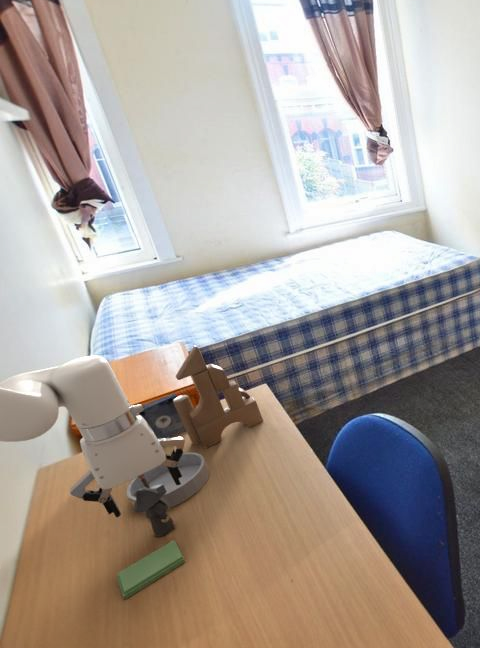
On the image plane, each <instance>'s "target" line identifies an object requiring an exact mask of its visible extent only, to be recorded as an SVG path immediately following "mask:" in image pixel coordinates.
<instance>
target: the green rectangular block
mask: <svg viewBox="0 0 480 648" xmlns="http://www.w3.org/2000/svg"><path fill="white" fill-rule="evenodd" d="M184 563H186V561H185V559H184V556H183V554H182V551H181V550H180V547H179V546H178V543H177V542H176V540H175V539H173V540H171V541H170V542H168V543H166V544H164V545H163V546H161V547H159V548H158V549H156V550H155V551H152V552H151V553H150V554H148V555H146V556H144V557H142V558H141V559H139V560H137V561H136V562H134V563H132V564H131V565H129V566H127V567H125V568H124V569H122V570H120V571H119V572H118V575H116V579H117V582H118V585H119V589H120V592H121V596H122V598H123V599H124V600H127V599H128V598H130V597H131V596H133V595H135V594H136V593H138V592H139V591H141V590H143V589H144V588H146V587H148V586H149V585H151V584H153V583H154V582H156V581H157V580H159V579H160V578H162V577H164V576H166V575H167V574H169V573H170V572H172V571H173V570H175V569H176V568H178V567H180V566H181V565H183V564H184Z"/></svg>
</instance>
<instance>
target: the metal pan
mask: <svg viewBox="0 0 480 648" xmlns="http://www.w3.org/2000/svg"><path fill="white" fill-rule="evenodd" d="M177 467H178V469H179V471H180V473H181V475H182V477H180V478H179V481H180V483H181V484H180V485H176V483H175V482H174V480H173V478H172V476H171V474H170V472H169V470H168V468H167V466H163V465H159V466H158V467H156V468H154V469H152V470H150V471H148V472H146V473H144V477H145V478H146V480H147V482H148V484H149V486H150V488H151V487H153V486H155V485H162V484H163V485H164V487H165V489H166V493H165V494H164V495H163V497H162V498H163V499H164V500H165V501H166V502H167V503H168V504H169V506H170V509H171V508H174V507H175V506H177V505H179V504H181V503H183V502H185V501H186V500H188V499H189V498H191V497H192V496H194V495H195V494H197V492H199V491H200V490H201V489H202V488H203V486H204V485H205V484H206V483H207V482H208V480H209V477H210V469H209V466H208V463H207V461H206V459H205V458H204V456H203V455H202V454H200V453H197V452H183V454H182V456H181V458H180V459H179V461H178V465H177ZM144 487H145V486H144V484H143V483H142V481H141V479H140V478H138V477H136V478H133V479H131V481H130V482H129V484H128V486H127V488H126V492H125V493H126V496H127V498H128V500H129V502H130V503H131V505H132V507H133V508H134V505H135V502H136V495H135V493H136V492H137V490H139V489H141V488H144ZM134 495H135V496H134ZM167 510H169V509H168V508H167ZM141 513H142V514H146V512H141Z"/></svg>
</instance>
